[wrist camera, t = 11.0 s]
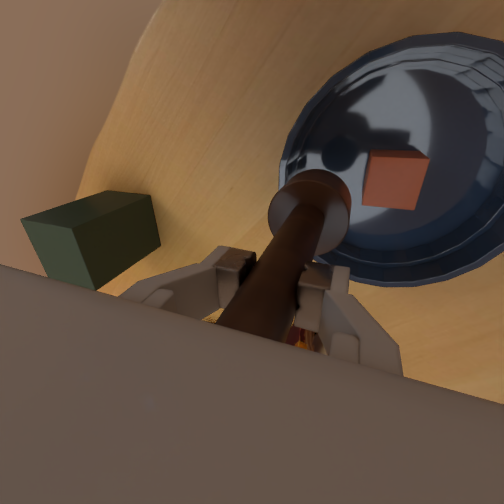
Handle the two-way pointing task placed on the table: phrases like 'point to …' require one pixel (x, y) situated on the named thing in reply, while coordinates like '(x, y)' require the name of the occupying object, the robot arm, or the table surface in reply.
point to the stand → (94, 237)
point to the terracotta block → (394, 178)
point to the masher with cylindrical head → (290, 252)
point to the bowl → (413, 139)
